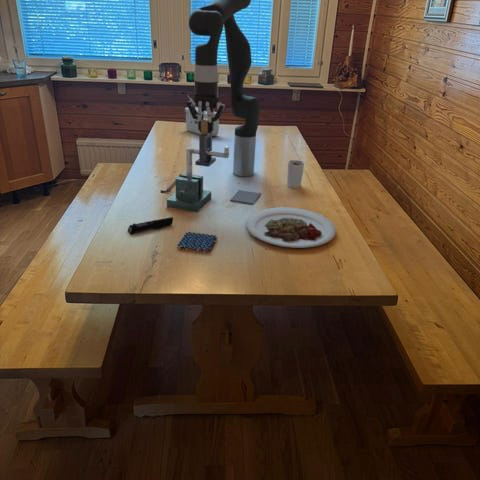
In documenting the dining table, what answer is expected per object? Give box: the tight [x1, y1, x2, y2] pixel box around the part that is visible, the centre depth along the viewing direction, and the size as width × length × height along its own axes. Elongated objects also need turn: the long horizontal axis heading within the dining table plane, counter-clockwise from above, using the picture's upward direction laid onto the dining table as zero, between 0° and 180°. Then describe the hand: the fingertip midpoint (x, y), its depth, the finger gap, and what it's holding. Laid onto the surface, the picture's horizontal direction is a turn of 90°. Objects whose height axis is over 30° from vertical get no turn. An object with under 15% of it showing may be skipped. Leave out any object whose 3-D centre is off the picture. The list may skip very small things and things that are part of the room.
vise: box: [166, 146, 230, 213], centre depth 162 cm, size 16×21×23 cm
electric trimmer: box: [127, 216, 174, 235], centre depth 149 cm, size 4×15×3 cm, turn 121°
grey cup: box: [286, 159, 305, 189], centre depth 188 cm, size 7×7×10 cm
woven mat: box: [177, 231, 218, 254], centre depth 141 cm, size 10×11×2 cm
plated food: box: [245, 206, 337, 249], centre depth 152 cm, size 30×30×3 cm
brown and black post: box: [194, 118, 217, 167], centre depth 157 cm, size 7×5×15 cm
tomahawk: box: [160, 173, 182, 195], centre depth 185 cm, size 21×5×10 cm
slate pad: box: [229, 189, 261, 205], centre depth 176 cm, size 11×9×1 cm
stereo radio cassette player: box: [184, 96, 220, 137], centre depth 254 cm, size 21×8×20 cm, turn 46°
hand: (205, 132), depth 155 cm, fingers closed on brown and black post, 2 cm apart
